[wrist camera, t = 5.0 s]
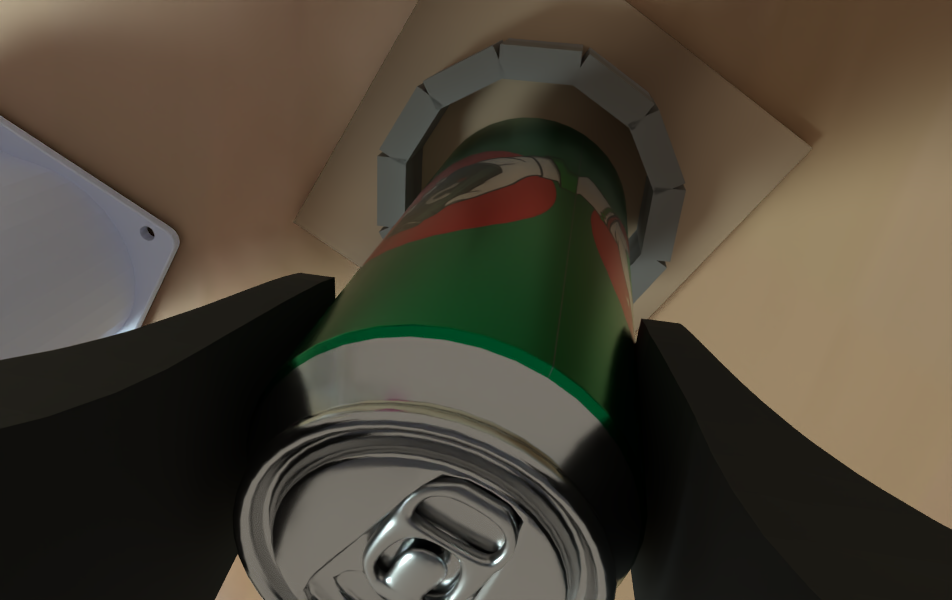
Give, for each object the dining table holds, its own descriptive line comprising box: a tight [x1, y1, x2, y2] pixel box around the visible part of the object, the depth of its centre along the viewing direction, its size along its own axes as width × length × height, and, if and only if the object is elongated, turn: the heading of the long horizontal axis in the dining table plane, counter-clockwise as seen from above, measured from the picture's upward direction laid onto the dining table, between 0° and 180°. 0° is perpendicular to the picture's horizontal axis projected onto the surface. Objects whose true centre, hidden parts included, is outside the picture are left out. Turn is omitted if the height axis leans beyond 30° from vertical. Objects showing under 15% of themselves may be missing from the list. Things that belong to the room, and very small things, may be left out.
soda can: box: [233, 117, 648, 600], centre depth 12 cm, size 5×5×12 cm
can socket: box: [294, 0, 812, 331], centre depth 19 cm, size 11×11×2 cm
